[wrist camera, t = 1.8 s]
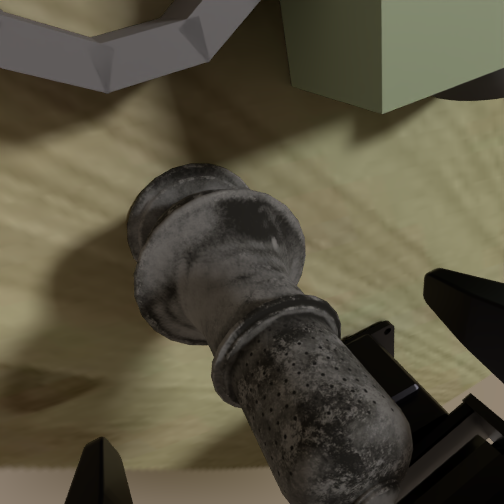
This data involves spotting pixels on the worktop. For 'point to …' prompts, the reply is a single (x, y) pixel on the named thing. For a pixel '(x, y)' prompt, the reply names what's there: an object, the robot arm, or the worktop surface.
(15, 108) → the worktop surface
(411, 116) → the worktop surface
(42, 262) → the worktop surface
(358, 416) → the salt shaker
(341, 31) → the block with end pegs
